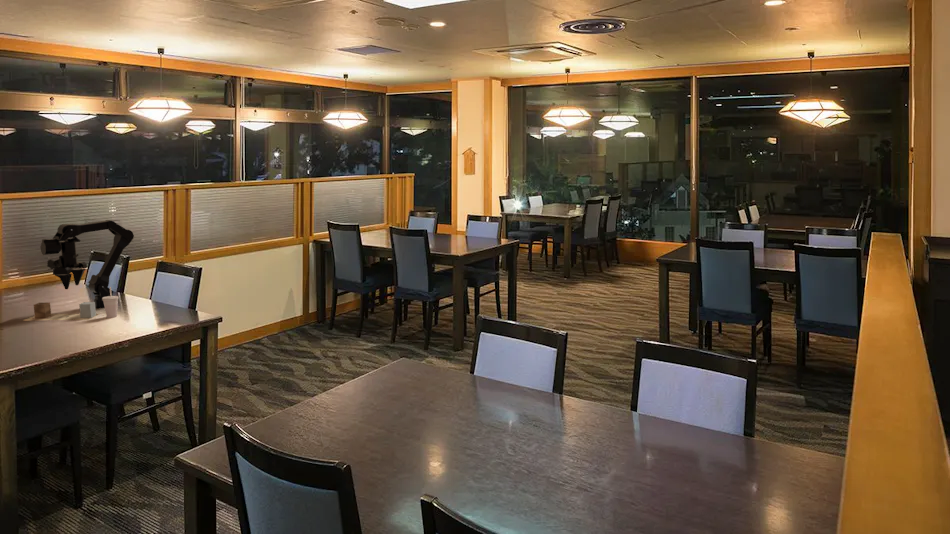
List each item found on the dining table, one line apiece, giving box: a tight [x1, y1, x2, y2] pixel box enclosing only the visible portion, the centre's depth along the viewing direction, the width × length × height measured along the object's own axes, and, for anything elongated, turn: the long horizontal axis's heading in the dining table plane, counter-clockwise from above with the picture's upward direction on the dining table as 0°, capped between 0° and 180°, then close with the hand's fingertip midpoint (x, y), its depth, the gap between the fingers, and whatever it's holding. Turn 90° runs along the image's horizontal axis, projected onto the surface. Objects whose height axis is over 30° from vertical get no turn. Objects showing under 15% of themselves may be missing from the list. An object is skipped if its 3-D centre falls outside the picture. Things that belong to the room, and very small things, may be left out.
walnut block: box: [33, 302, 52, 319], centre depth 310 cm, size 4×4×6 cm
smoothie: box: [102, 286, 119, 319], centre depth 310 cm, size 6×6×14 cm
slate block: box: [78, 301, 97, 319], centre depth 311 cm, size 4×4×6 cm
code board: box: [22, 313, 100, 322], centre depth 311 cm, size 27×12×1 cm, turn 93°
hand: (71, 287), depth 320 cm, fingers open, 9 cm apart
